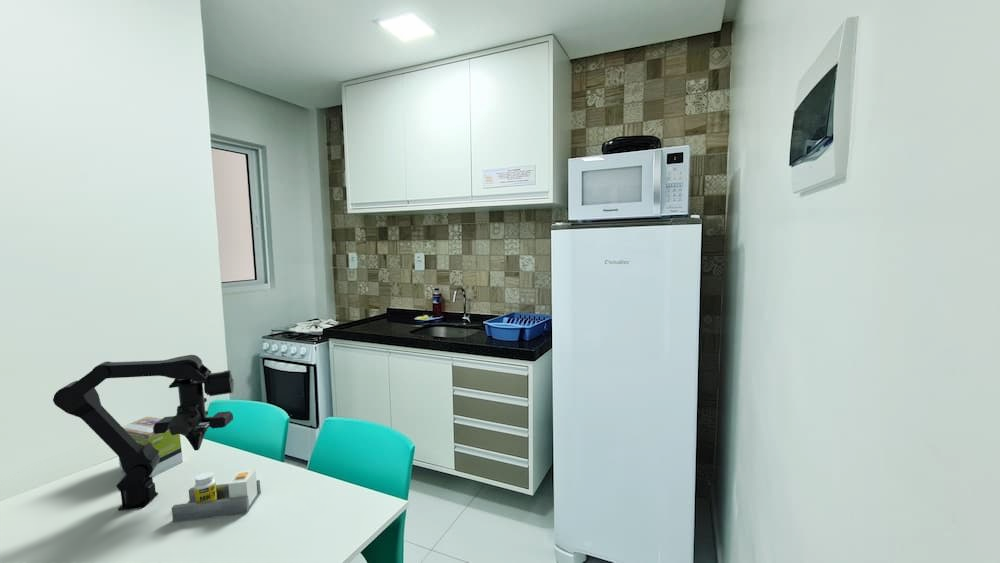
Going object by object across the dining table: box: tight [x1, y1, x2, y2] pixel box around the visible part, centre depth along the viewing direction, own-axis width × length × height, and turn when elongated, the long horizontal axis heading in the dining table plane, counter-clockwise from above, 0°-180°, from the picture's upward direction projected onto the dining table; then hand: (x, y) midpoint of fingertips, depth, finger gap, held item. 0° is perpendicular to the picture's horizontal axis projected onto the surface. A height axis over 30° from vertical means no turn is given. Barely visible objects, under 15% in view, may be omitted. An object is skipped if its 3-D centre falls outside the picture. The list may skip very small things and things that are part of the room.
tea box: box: [118, 416, 184, 478], centre depth 135 cm, size 15×10×15 cm, turn 73°
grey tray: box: [171, 479, 262, 523], centre depth 113 cm, size 18×9×4 cm, turn 100°
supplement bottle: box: [193, 471, 217, 502], centre depth 113 cm, size 5×5×8 cm
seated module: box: [227, 469, 258, 505], centre depth 114 cm, size 4×6×8 cm
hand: (197, 449), depth 122 cm, fingers closed
